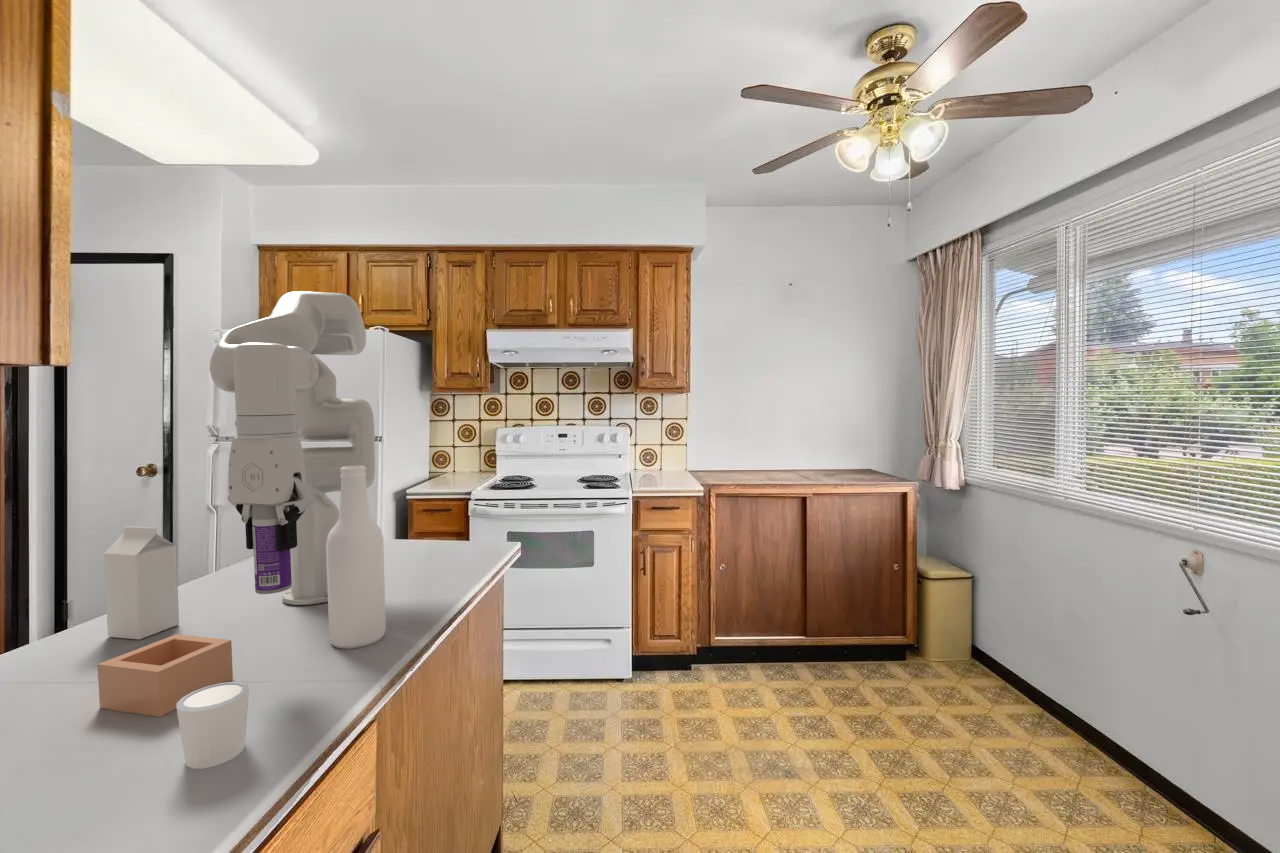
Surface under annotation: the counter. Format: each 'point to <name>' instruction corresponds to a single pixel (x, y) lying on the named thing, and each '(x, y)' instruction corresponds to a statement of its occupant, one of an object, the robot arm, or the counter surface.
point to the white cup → (213, 723)
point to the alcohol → (355, 568)
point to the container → (269, 553)
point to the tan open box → (163, 673)
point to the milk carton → (141, 584)
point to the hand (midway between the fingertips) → (272, 546)
